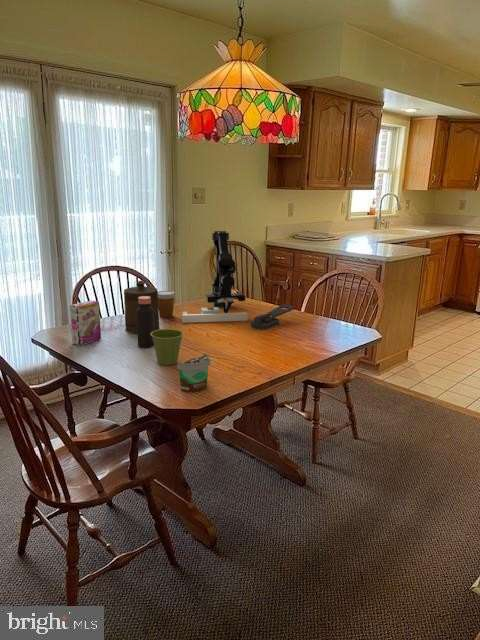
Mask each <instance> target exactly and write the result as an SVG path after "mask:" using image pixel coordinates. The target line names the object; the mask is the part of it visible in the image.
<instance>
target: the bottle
mask: <svg viewBox="0 0 480 640" xmlns="http://www.w3.org/2000/svg"><path fill="white" fill-rule="evenodd" d="M138 303H139V307H138V308H137V310H136V316H137V334H136V336H137V347H139V348H142V349H151V348H152V347H155V345H154V342H153V338H152V336H151V335H150V334H151V332H153V331H154V310H153V308H152V307H151V306H150V304H151V297H149V296H141V297H138Z"/></svg>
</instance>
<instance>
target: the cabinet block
mask: <svg viewBox="0 0 480 640" xmlns="http://www.w3.org/2000/svg"><path fill="white" fill-rule="evenodd" d="M200 310H201V313H200V314H213V313H220V309H219V306H217V307H214V306H209V307H201V309H200Z"/></svg>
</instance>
